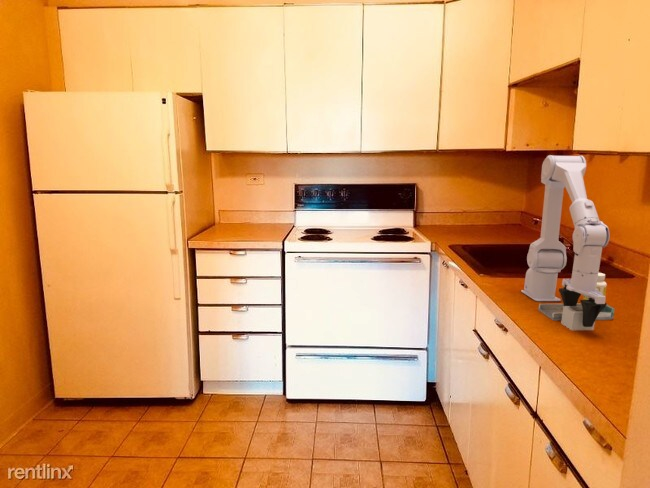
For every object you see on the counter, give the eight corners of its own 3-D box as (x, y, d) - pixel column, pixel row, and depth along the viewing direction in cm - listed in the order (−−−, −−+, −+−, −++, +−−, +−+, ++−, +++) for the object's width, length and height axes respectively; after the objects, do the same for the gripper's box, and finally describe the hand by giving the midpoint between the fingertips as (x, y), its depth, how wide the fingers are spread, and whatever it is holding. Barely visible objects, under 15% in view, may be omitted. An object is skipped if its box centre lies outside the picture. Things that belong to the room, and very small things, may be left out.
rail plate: (553, 320, 118) (554, 309, 117) (538, 310, 125) (539, 299, 124) (612, 319, 119) (614, 308, 118) (594, 309, 126) (596, 299, 125)
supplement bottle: (595, 301, 133) (600, 271, 130) (607, 308, 127) (612, 276, 125) (578, 301, 132) (583, 271, 130) (589, 308, 127) (594, 276, 125)
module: (560, 323, 116) (563, 305, 115) (582, 323, 116) (585, 304, 115) (571, 330, 112) (574, 311, 110) (593, 330, 112) (596, 311, 111)
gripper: (554, 263, 117) (547, 310, 120) (588, 279, 103) (580, 332, 106) (579, 263, 118) (572, 310, 121) (617, 279, 104) (608, 331, 107)
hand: (578, 320), depth 114 cm, fingers open, 7 cm apart
